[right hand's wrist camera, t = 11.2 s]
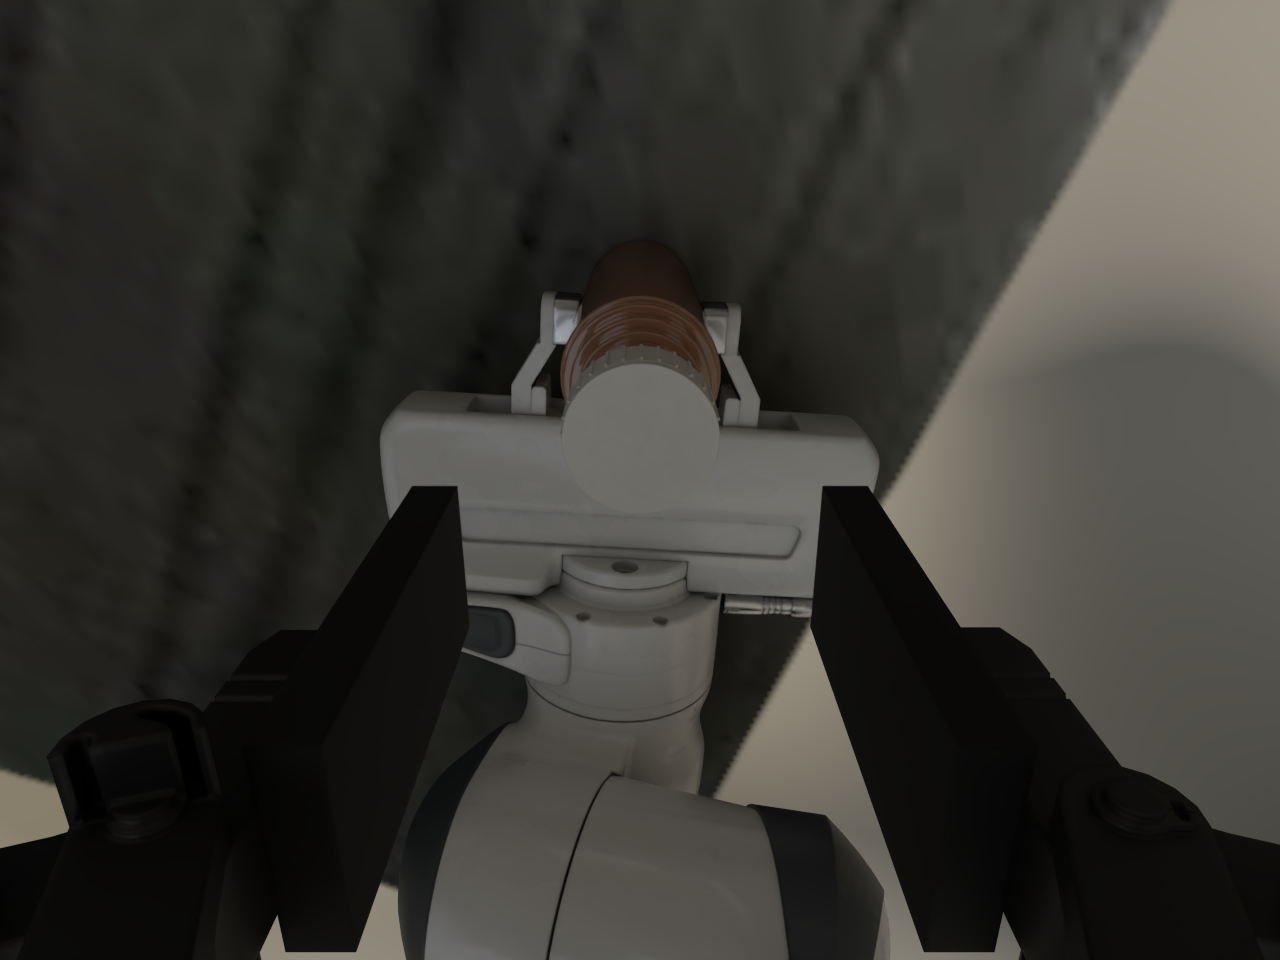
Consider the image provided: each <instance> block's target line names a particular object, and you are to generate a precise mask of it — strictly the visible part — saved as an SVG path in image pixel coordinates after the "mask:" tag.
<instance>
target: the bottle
mask: <svg viewBox="0 0 1280 960" xmlns="http://www.w3.org/2000/svg"><path fill="white" fill-rule="evenodd" d="M640 344H643V346H649V347H656V348H657V346H660V349H664V350H667V351H669V352H672V353H673V352H676V353H677V355H678V356H679V357H681V358H683V359H684V360H685V361H688V360H689V361H690V362H691V365H692V367H693V368H695V369H696V371H697V372H698V373H700V372H701V373H702V375H703V378H704V382H705V383H706V385H707V387H709V386H710V388H711V391H712V395H713V398H714V402H716V399H717V396H718V393H719V388H720V381H721V367H720V359H719V355H718V351H717V348H716V345H715V343H714V340H713V337H712V334H711V332H710V329H709V326H708V324H707V321H706V318H705V315H704V313H703V310H702V307H701V304H700V302H699V299H698V296H697V293H696V291H695V288H694V285H693V283H692V280H691V277H690V275H689V272H688V270H687V268H686V266H685V265H684V263H683V262H682V260H681V259H680V258H679V257H678V256H677V255H676V254H675V253H674V252H673V251H671V250H670V249H669V248H667V247H665V246H663V245H661V244H658V243H655V242H652V241H645V240H635V241H629V242H625V243H622V244H620V245H618V246H615V247H614V248H612V249H611V250H609V251H608V252H607V253H606V254H604V255H603V256H602V257H601V259H600V260H599V261H598V262H597V264H596V265H595V267H594V269H593V271H592V273H591V276H590V279H589V282H588V284H587V287H586V290H585V293H584V296H583V298H582V301H581V304H580V307H579V309H578V312H577V315H576V318H575V321H574V323H573V326H572V329H571V332H570V334H569V337H568V340H567V343H566V346H565V348H564V351H563V355H562V359H561V366H560V382H561V388H562V393H563V396H564V399H565V402H566V401H567V400H568V396H569V393H570V389H571V386H572V385H573V386H575V384H576V382H577V380H578V377H579V373H580V372H581V371H582V372H584V371H585V370H586V369H587V368H588V367H589V366H590V365H591V361H592V360H595V361H596V360H597V359H599V358H600V357H602V356H604V355H605V354H606V352H607V351H609V352H612V351H614V350H618V349H621V348H622V346H626V347H632V346H640Z"/></svg>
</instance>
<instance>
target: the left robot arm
mask: <svg viewBox="0 0 1280 960" xmlns="http://www.w3.org/2000/svg"><path fill="white" fill-rule="evenodd" d="M580 304H581V294H580V293H567V292H557V291H545V292H544V293H543V295H542V302H541V327H540V337H539V339H538V340H537V342H536V344H535V345H534V347H533V349H532V350H531V352H530V353H529V355H528V357H527V358H526V360H525V362H524V363H523V365H522V366H521V368H520V370H519V371H518V373H517V375H516V377H515V379H514V381H513V383H512V385H511V395H494V394H477V393H460V392H443V391H428V390H419V391H415V392H413V393H411V394H410V395H409V396H407V397H406V398H405V399H404V400H403V401H402V402H401V403H400V404H399V405H398V406H397V407H396V408H395V409H394V410H393V411H392V412H391V414H390V415H389V416H388V418H387V419H386V421H385V422H384V424H383V427H382V430H381V434H380V456H381V468H382V476H383V484H384V491H385V498H386V504H387V510H388V515H389V520H390V519H391V517H392V516H393V514H394V513H395V511H396V510H397V508H398V507H399V505H400V504H401V502H402V501H403V499H404V498H405V496H406V495H407V493H408V492H409V490H410V488H411V487H412V486H458V497H459V509H460V520H461V532H462V543H463V555H464V566H465V578H466V590H467V601H468V613H469V624H470V627H469V630H468V633H467V636H466V639H465V642H464V644H463V647H462V650H461V651H462V652H465V653H468V654H471V655H474V656H477V657H480V658H483V659H486V660H489V661H491V662H494V663H497V664H499V665H502V666H504V667H507V668H509V669H512V670H514V671H516V672H519V673H521V674H523V675H525V679H526V684H527V688H528V702H527V706H526V709H525V712H524V714H523V716H522V718H521V719H520V720H519V721H518V722H516V723H511V722H507V723H505V724H504V725H502V726H500V727H499V728H497V729H495V730H494V731H493V732H491V733H490V734H489V735H487V736H486V737H485V738H483V739H482V740H481V741H480V742H479V743H477V744H476V745H475V746H474V747H473V748H471V749H470V750H469V751H468V752H466V753H465V754H464V755H463V756H462V757H460V758H459V759H458V760H457V761H455V762H454V763H453V764H452V765H451V766H450V767H448V768H447V769H446V770H445V771H444V772H443V773H442V774H441V776H440V777H439V778H438V779H437V780H436V782H435V783H434V784H433V786H432V787H431V788H430V790H429V792H428V793H427V795H426V796H425V798H424V800H423V801H422V803H421V805H420V806H419V808H418V810H417V812H416V814H415V816H414V819H413V821H412V823H411V826H410V829H409V832H408V836H407V839H406V843H405V847H404V852H403V857H402V863H401V869H400V877H399V889H398V914H399V922H400V929H401V936H402V942H403V946H404V951H405V956H406V960H890V930H889V921H888V916H887V911H886V907H885V903H884V900H883V899H884V889H883V888H882V886H881V884H880V883H879V881H878V879H877V878H876V876H875V875H874V873H873V872H872V870H871V869H870V867H869V866H868V865H867V863H866V862H865V860H864V859H863V858H862V856H861V855H860V854H859V852H858V851H857V850H856V849H855V847H854V846H853V845H852V844H851V843H850V842H849V840H848V839H847V838H846V837H845V836H844V834H843V833H842V832H841V831H840V830H839V829H838V828H837V827H836V826H835V825H834V824H833V823H832V822H831V820H830V819H829V818H828V817H827V816H826V815H822V814H815V813H808V812H802V811H795V810H788V809H782V808H775V807H768V806H761V805H755V804H749V805H747V806H742V805H738V804H733V803H729V802H725V801H721V800H717V799H713V798H708V797H704V796H700V795H698V792H699V786H700V780H701V773H702V765H703V756H704V739H703V733H702V728H701V725H700V710H701V708H702V706H703V704H704V702H705V700H706V698H707V695H708V693H709V690H710V686H711V682H712V675H713V667H714V658H715V649H716V640H717V631H718V618H719V616H720V615H721V614H736V615H761V614H762V615H767V614H768V615H771V614H780V615H789V616H790V617H795V618H811V613H812V601H813V590H814V578H815V566H816V555H817V543H818V532H819V520H820V509H821V497H822V486H868V487H869V488H870V490H871V492H872V493H874V489H875V485H876V481H877V476H878V471H879V456H878V452H877V450H876V448H875V446H874V445H873V443H872V441H871V440H870V438H869V437H868V435H867V434H866V433H865V432H864V431H863V429H862V428H861V427H860V426H859V425H858V424H857V423H856V422H855V421H854V420H853V419H852V418H850V417H848V416H845V415H831V414H814V413H797V412H780V411H764V410H759V407H760V398H759V396H758V393H757V391H756V389H755V387H754V385H753V382H752V380H751V378H750V376H749V374H748V371H747V369H746V367H745V365H744V363H743V360H742V358H741V356H740V354H739V352H738V343H739V333H740V324H741V307H740V306H739V304H738V303H730V302H712V301H702V303H701V307H702V310H703V313H704V315H705V318H706V321H707V324H708V326H709V329H710V332H711V334H712V337H713V340H714V343H715V345H716V348H717V351H718V354H721V357H722V359H723V361H724V363H725V365H726V368H727V370H728V372H729V374H730V376H731V378H732V380H733V383H734V385H735V387H734V386H733V385H727V384H724V385H723V386H721V391H720V400H719V408H717V411H718V414H719V418H720V421H718V424H719V429H720V433H721V438H720V446H719V453H718V457H717V460H716V463H715V466H714V468H713V470H712V472H711V474H710V475H709V477H708V479H707V480H706V482H705V483H704V484H703V485H702V486H701V488H700V489H699V490H698V491H696V492H695V493H694V494H693V495H692V496H691V497H689V498H688V499H686V500H685V501H683V502H682V503H680V504H678V505H676V506H674V507H671V508H669V509H666V510H662V511H658V512H652V513H629V512H624V511H619V510H616V509H613V508H610V507H607V506H606V505H604V504H602V503H600V502H598V501H596V500H595V499H593V498H592V497H591V496H589V495H588V494H587V493H586V492H585V491H584V490H583V489H582V488H581V487H580V486H579V485H578V484H577V483H576V481H575V480H574V478H573V477H572V475H571V473H570V471H569V469H568V467H567V465H566V462H565V459H564V456H563V451H562V442H561V437H560V432H561V428H562V425H563V421H564V420H562V415H563V411H564V408H565V404H566V402H565V399H562V398H551V376H550V375H549V374H544V373H540V374H539V372H540V371H541V369H542V368H543V366H544V364H545V363H546V361H547V360H548V358H549V356H550V355H551V353H552V352H553V350H554V348H555V347H556V345H557V344H566V343H567V340H568V337H569V334H570V332H571V329H572V326H573V323H574V321H575V318H576V315H577V312H578V309H579V307H580ZM538 374H539V375H538Z"/></svg>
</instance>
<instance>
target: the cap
mask: <svg viewBox="0 0 1280 960" xmlns="http://www.w3.org/2000/svg"><path fill="white" fill-rule="evenodd" d="M562 420H564V421H563V425H562V428H561V432H560V437H561V442H562V451H563V456H564V459H565V462H566V465H567V467H568V469H569V471H570V473H571V475H572V477H573V478H574V480H575V481H576V483H577V484H578V485H579V486H580V487H581V488H582V489H583V490H584V491H585V492H586V493H587V494H588V495H589V496H591V497H592V498H593V499H595V500H596V501H598V502H600V503H602V504H604V505H606V506H607V507H610V508H613V509H616V510H619V511H624V512H629V513H652V512H658V511H662V510H666V509H669V508H671V507H674V506H676V505H678V504H680V503H682V502H683V501H685V500H686V499H688V498H689V497H691V496H692V495H693V494H694V493H695V492H696V491H698V490H699V489H700V488H701V486H702V485H703V484H704V483H705V482H706V480H707V479H708V477H709V475H710V474H711V472H712V470H713V468H714V466H715V463H716V460H717V457H718V453H719V446H720V438H721V433H720V429H719V424H718V421H720V418H719V414H718V411H717V407H716V404H715V402H714V398H713V395H712V391H711V388H710V386H709V387H707V385H706V383H705V382H704V378H703V375H702V373H701V372H700V373H698V372H697V371H696V369H695V368H693V367H692V365H691V362H690V361H689V360H688V361H685V360H684V359H683V358H681V357H679V356H678V355H677V353H676V352H673V353H672V352H669V351H667V350H664V349H660V346H657V348H656V347H649V346H643V344H640V346H632V347H626V346H622V348H621V349H618V350H614V351H612V352H609V351H607V352H606V354H605V355H604V356H602V357H600V358H599V359H597V360H596V361H595V360H592V361H591V365H590V366H589V367H588V368H587V369H586V370H585V371H584V372H582V371H581V372H580V373H579V377H578V380H577V382H576V384H575V386H573V385H572V386H571V389H570V393H569V396H568V400H567V401H566V404H565V408H564V411H563V415H562Z"/></svg>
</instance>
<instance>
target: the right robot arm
mask: <svg viewBox="0 0 1280 960" xmlns="http://www.w3.org/2000/svg"><path fill="white" fill-rule="evenodd" d="M469 627H470V624H469V613H468V601H467V590H466V578H465V566H464V555H463V543H462V532H461V520H460V509H459V497H458V486H412V487H411V488H410V490H409V492H408V493H407V495H406V496H405V498H404V499H403V501H402V502H401V504H400V505H399V507H398V508H397V510H396V511H395V513H394V514H393V516H392V517H391V519H390V520H389V522H388V524H387V525H386V527H385V528H384V530H383V531H382V533H381V534H380V536H379V537H378V539H377V540H376V542H375V543H374V545H373V546H372V548H371V549H370V551H369V552H368V554H367V555H366V557H365V559H364V560H363V562H362V563H361V565H360V566H359V568H358V569H357V571H356V572H355V574H354V575H353V577H352V578H351V580H350V581H349V583H348V584H347V586H346V587H345V589H344V591H343V592H342V594H341V595H340V597H339V598H338V600H337V601H336V603H335V604H334V606H333V607H332V609H331V610H330V612H329V613H328V615H327V616H326V618H325V619H324V621H323V623H322V624H321V626H320V627H319V629H318V630H280V631H279V632H277V633H276V634H274V635H273V636H271V637H270V638H268V639H267V640H265V641H264V642H262V643H261V644H260V645H258V646H257V647H255V648H254V649H252V650H251V651H249V653H248V654H247V655H246V657H245V658H244V659H243V660H242V662H241V663H240V664H239V666H238V667H237V668H236V670H235V671H234V672H233V674H232V675H231V679H230V681H226V683H225V684H224V685H223V687H222V688H221V689H220V691H219V692H218V693H217V695H216V696H215V701H214V702H210V704H209V705H208V706H207V708H206V709H205V710H204V712H202V711H201V710H200V709H198V708H197V707H196V706H195V705H193V704H192V703H188V702H183V701H178V700H173V699H161V700H146V701H140V702H136V703H133V704H129V705H125V706H121V707H117V708H114V709H111V710H109V711H107V712H105V713H103V714H100V715H98V716H96V717H94V718H92V719H89V720H87V721H85V722H84V723H82V724H81V725H79V726H78V727H77V728H75V729H74V730H72V731H71V732H69V733H68V734H67V735H65V736H64V737H62V738H61V739H60V741H59V742H58V743H57V744H56V746H55V747H54V748H53V750H52V751H51V752H50V753H49V755H48V756H47V759H48V762H49V765H50V768H51V771H52V774H53V778H54V781H55V784H56V787H57V790H58V793H59V796H60V799H61V802H62V805H63V809H64V812H65V815H66V818H67V821H68V824H69V830H68V832H66V833H63V834H59V835H56V836H53V837H48V838H44V839H40V840H35V841H31V842H26V843H22V844H17V845H13V846H8V847H4V848H0V960H261V956H260V951H261V948H262V946H263V944H264V942H265V940H266V938H267V936H268V934H269V931H270V929H271V927H272V925H273V923H274V921H275V919H276V916H277V915H278V919H279V924H280V928H281V933H282V938H283V942H284V947H285V952H356V951H357V948H358V945H359V942H360V939H361V937H362V934H363V931H364V928H365V925H366V922H367V919H368V916H369V914H370V911H371V908H372V905H373V902H374V899H375V896H376V894H377V891H378V888H379V885H380V882H381V879H382V876H383V874H384V871H385V868H386V865H387V862H388V859H389V856H390V854H391V851H392V848H393V845H394V842H395V839H396V836H397V833H398V831H399V828H400V825H401V822H402V819H403V816H404V813H405V811H406V808H407V805H408V802H409V799H410V796H411V793H412V791H413V788H414V785H415V782H416V779H417V776H418V773H419V770H420V768H421V765H422V762H423V759H424V756H425V753H426V750H427V748H428V745H429V742H430V739H431V736H432V733H433V730H434V728H435V725H436V722H437V719H438V716H439V713H440V710H441V707H442V705H443V702H444V699H445V696H446V693H447V690H448V687H449V685H450V682H451V679H452V676H453V673H454V670H455V667H456V665H457V662H458V659H459V656H460V653H461V650H462V647H463V644H464V642H465V639H466V636H467V633H468V630H469ZM810 627H811V630H812V633H813V636H814V639H815V642H816V644H817V647H818V650H819V653H820V656H821V659H822V662H823V665H824V667H825V670H826V673H827V676H828V679H829V682H830V685H831V687H832V690H833V693H834V696H835V699H836V702H837V704H838V707H839V710H840V713H841V716H842V719H843V722H844V724H845V728H846V730H847V733H848V736H849V739H850V742H851V745H852V747H853V750H854V753H855V756H856V759H857V762H858V765H859V768H860V770H861V773H862V776H863V779H864V782H865V785H866V788H867V790H868V793H869V796H870V799H871V802H872V805H873V808H874V811H875V813H876V816H877V819H878V822H879V825H880V828H881V831H882V833H883V836H884V839H885V842H886V845H887V848H888V851H889V853H890V856H891V859H892V862H893V865H894V868H895V871H896V874H897V876H898V879H899V882H900V885H901V888H902V891H903V894H904V896H905V899H906V902H907V905H908V908H909V911H910V914H911V917H912V919H913V922H914V925H915V928H916V931H917V934H918V936H919V939H920V942H921V945H922V948H923V951H924V952H994V951H995V947H996V942H997V938H998V933H999V928H1000V924H1001V919H1002V915H1003V912H1004V914H1005V916H1006V919H1007V921H1008V923H1009V925H1010V927H1011V929H1012V931H1013V934H1014V936H1015V938H1016V940H1017V942H1018V944H1019V946H1020V948H1021V952H1020V956H1019V960H1280V845H1279V844H1274V843H1270V842H1265V841H1261V840H1257V839H1252V838H1248V837H1243V836H1239V835H1234V834H1230V833H1226V832H1223V831H1219V830H1216V829H1213V828H1211V826H1210V824H1209V823H1208V821H1207V820H1206V818H1205V817H1204V816H1203V814H1202V813H1201V811H1200V810H1199V808H1198V807H1197V806H1196V805H1195V804H1194V803H1192V802H1191V801H1190V800H1189V799H1187V798H1186V797H1185V796H1184V795H1183V794H1181V793H1180V792H1179V791H1178V790H1176V789H1175V788H1173V787H1171V786H1169V785H1168V784H1166V783H1164V782H1162V781H1160V780H1158V779H1156V778H1154V777H1152V776H1150V775H1148V774H1145V773H1141V772H1138V771H1135V770H1131V769H1128V768H1124V767H1122V766H1121V765H1120V764H1119V763H1118V761H1117V760H1116V759H1115V757H1114V756H1113V755H1112V753H1111V752H1110V751H1109V750H1108V748H1107V747H1106V746H1105V744H1104V743H1103V742H1102V740H1101V739H1100V738H1099V737H1098V735H1097V734H1096V733H1095V731H1094V730H1093V729H1092V727H1091V726H1090V725H1089V723H1088V722H1087V721H1086V720H1085V718H1084V717H1083V716H1082V714H1081V713H1080V712H1079V710H1078V709H1077V708H1076V707H1075V705H1074V704H1073V703H1072V701H1071V700H1070V699H1066V694H1065V692H1064V691H1063V690H1062V688H1061V687H1060V686H1059V684H1058V683H1057V682H1056V680H1055V679H1054V678H1050V673H1049V671H1048V670H1047V669H1046V667H1045V666H1044V665H1043V664H1042V662H1041V661H1040V660H1039V658H1038V657H1037V656H1036V654H1035V653H1034V652H1033V651H1032V649H1031V648H1029V647H1028V646H1026V645H1025V644H1023V643H1022V642H1020V641H1019V640H1018V639H1016V638H1015V637H1013V636H1011V635H1010V634H1009V633H1007V632H1006V631H1004V630H1003V629H1001V628H999V627H960V626H959V624H958V623H957V621H956V619H955V618H954V616H953V615H952V613H951V612H950V610H949V609H948V607H947V606H946V604H945V603H944V601H943V600H942V598H941V597H940V595H939V594H938V592H937V591H936V589H935V587H934V586H933V584H932V583H931V581H930V580H929V578H928V577H927V575H926V574H925V572H924V571H923V569H922V568H921V566H920V565H919V563H918V562H917V560H916V559H915V557H914V556H913V554H912V553H911V551H910V549H909V548H908V546H907V545H906V543H905V542H904V540H903V539H902V537H901V536H900V534H899V533H898V531H897V530H896V528H895V527H894V525H893V524H892V522H891V520H890V519H889V518H888V516H887V514H886V513H885V511H884V510H883V508H882V507H881V505H880V504H879V502H878V501H877V499H876V498H875V496H874V495H873V493H872V492H871V490H870V488H869V487H868V486H822V497H821V509H820V520H819V532H818V543H817V555H816V566H815V578H814V590H813V601H812V613H811V624H810Z"/></svg>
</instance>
